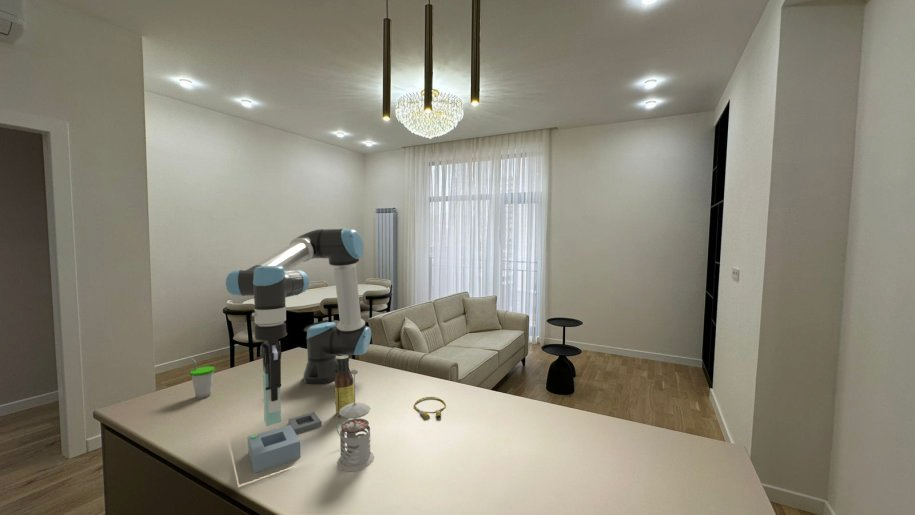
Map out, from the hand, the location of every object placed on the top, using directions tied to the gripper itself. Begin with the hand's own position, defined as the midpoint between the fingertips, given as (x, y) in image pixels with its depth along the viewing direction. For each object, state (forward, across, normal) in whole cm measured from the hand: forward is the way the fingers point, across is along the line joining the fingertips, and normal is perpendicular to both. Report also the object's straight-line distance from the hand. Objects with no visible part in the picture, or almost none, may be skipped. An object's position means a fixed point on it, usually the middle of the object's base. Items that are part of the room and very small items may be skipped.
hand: (272, 408), depth 98 cm
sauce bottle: (+14, -12, +24) cm, 30 cm away
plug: (+4, 0, 0) cm, 4 cm away
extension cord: (+14, +1, +50) cm, 51 cm away
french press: (+14, +14, +17) cm, 26 cm away
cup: (+13, -59, -14) cm, 62 cm away
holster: (+13, -12, +11) cm, 21 cm away
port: (+14, 0, 0) cm, 14 cm away
